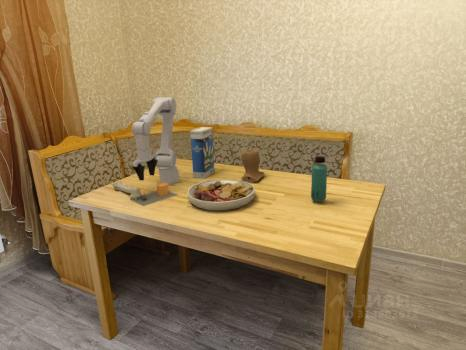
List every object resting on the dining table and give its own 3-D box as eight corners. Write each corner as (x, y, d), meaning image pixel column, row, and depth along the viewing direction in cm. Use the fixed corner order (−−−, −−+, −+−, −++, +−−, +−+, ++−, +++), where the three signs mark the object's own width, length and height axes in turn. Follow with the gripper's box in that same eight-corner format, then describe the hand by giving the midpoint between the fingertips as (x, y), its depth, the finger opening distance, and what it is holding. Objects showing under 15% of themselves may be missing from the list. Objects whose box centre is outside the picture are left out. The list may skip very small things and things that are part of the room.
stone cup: (246, 173, 187) (245, 147, 182) (266, 175, 182) (266, 148, 178) (235, 181, 173) (234, 153, 169) (257, 184, 169) (257, 155, 164)
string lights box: (205, 178, 180) (202, 131, 172) (192, 177, 182) (189, 130, 175) (215, 171, 191) (212, 127, 184) (203, 170, 194) (200, 126, 186)
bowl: (209, 185, 170) (208, 170, 167) (264, 193, 157) (264, 177, 154) (174, 207, 144) (173, 190, 142) (237, 218, 131) (237, 199, 129)
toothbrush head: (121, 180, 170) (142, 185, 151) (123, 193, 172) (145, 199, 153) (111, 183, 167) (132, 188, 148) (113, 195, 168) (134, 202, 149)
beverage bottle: (326, 199, 146) (329, 155, 140) (325, 205, 140) (327, 159, 134) (311, 198, 148) (313, 154, 142) (309, 204, 142) (311, 158, 136)
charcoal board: (163, 190, 164) (162, 182, 162) (178, 196, 155) (177, 187, 154) (129, 201, 152) (128, 192, 150) (143, 208, 143) (142, 198, 142)
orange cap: (164, 191, 160) (163, 181, 158) (170, 193, 156) (169, 183, 155) (155, 194, 157) (154, 184, 155) (161, 196, 153) (160, 186, 152)
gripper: (146, 144, 157) (149, 172, 161) (125, 151, 144) (129, 181, 149) (158, 145, 154) (161, 173, 158) (138, 152, 142) (142, 183, 146)
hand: (146, 177), depth 153 cm, fingers open, 7 cm apart
